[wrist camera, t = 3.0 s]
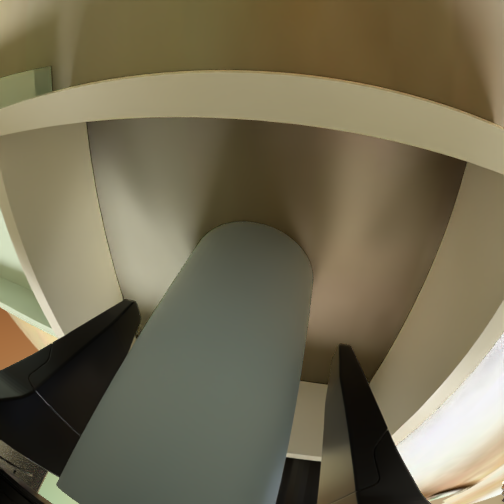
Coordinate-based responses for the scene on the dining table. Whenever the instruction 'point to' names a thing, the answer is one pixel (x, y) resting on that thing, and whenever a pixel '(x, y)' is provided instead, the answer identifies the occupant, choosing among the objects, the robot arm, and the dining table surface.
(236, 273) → the cylinder
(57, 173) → the cream square bin
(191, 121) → the dining table surface
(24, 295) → the tray
